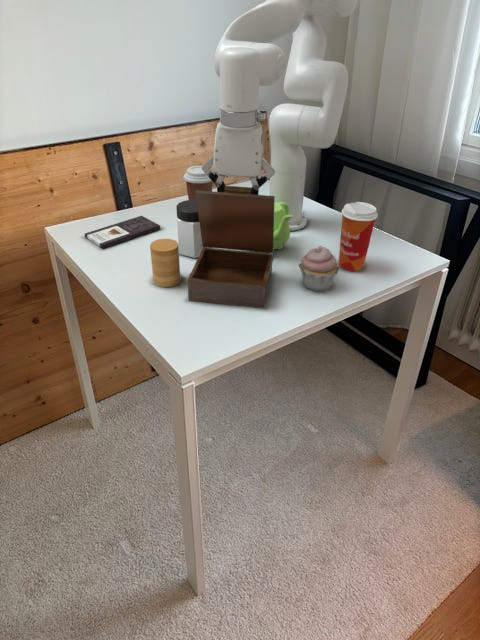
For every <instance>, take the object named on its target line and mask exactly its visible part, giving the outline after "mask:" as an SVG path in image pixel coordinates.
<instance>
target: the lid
mask: <svg viewBox="0 0 480 640" xmlns="http://www.w3.org/2000/svg"><path fill="white" fill-rule="evenodd" d="M251 189H252V186H249V187H248V186H239V185H238V186H237V185H225V186H224V192H217V191H213V190H212V191H199V190H196V200H197V208H198V215H199V223H200V230H201V238H202V246H203V247H209V248H213V249H224V250H235V251H247V252H254V251H255V252H264V253H269V254H274V249H273V245H274V204H275V196H269V195H266V194H264V195H263V194H259V195H253V194H251Z"/></svg>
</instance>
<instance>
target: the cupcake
mask: <svg viewBox="0 0 480 640" xmlns="http://www.w3.org/2000/svg"><path fill="white" fill-rule="evenodd" d="M300 261H301V262H300V263H298V264H297V265H298V267H299V270H300V271H299V272H300V273H301V277H302V283H303V286H304V287H305V288H306V289H308V290H310V291H313V292H325V291H327V290H329V289H330V288H331V287H332V285H333V283H334V279H335V278H336V276H337V275H338V273H339V271H340V269H341V267H340V266H339V263H338V262H337V259H336V257H335V255H334V254H332V252H331V251H330V249H329V248H327V247H326V246H323V245H319V246H317V247H314V248H311V249H309V250H308V251H307V252H306V253H305V255H303V257H302V259H301V260H300Z"/></svg>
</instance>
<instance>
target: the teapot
mask: <svg viewBox="0 0 480 640" xmlns="http://www.w3.org/2000/svg"><path fill="white" fill-rule="evenodd" d="M281 206H284V210H283V208H282V207H281ZM288 213H289V206H288V205H287V204H286V203H285V202H278V203H276V202H275V204H274V245H273V250H281V249H282V248H283V246H284V245H285V244H286V243H287V242H288V240H289V239H290V237H291V231H290V228H289V222H288V221H289V219H290V218H291V217H293V216H292V215H288ZM253 252H255V251H253ZM258 253H265V252H258Z"/></svg>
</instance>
